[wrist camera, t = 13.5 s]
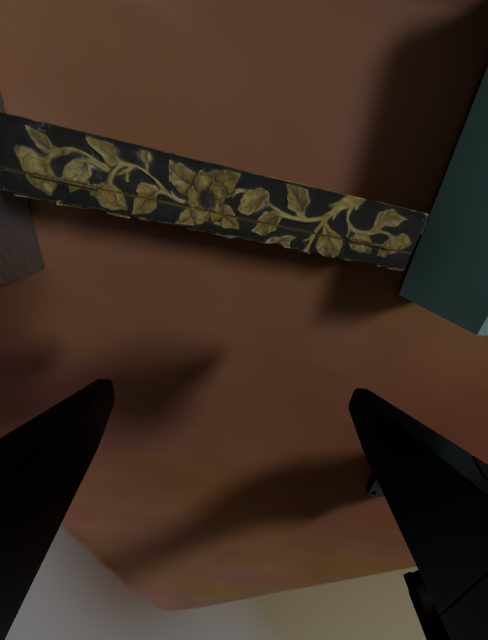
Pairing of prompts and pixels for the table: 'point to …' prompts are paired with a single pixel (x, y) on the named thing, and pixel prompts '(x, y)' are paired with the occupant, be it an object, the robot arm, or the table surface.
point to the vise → (16, 236)
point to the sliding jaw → (458, 233)
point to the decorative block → (199, 194)
